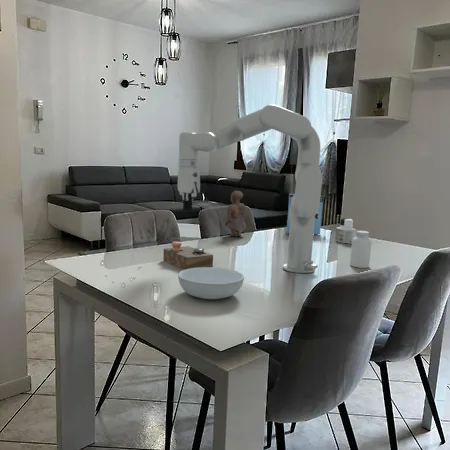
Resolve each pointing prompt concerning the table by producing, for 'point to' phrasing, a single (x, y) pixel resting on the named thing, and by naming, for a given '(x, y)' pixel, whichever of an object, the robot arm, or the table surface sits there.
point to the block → (187, 258)
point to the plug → (198, 251)
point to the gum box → (316, 217)
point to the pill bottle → (360, 250)
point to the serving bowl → (210, 282)
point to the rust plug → (176, 246)
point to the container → (345, 231)
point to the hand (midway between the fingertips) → (187, 210)
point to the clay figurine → (236, 214)
